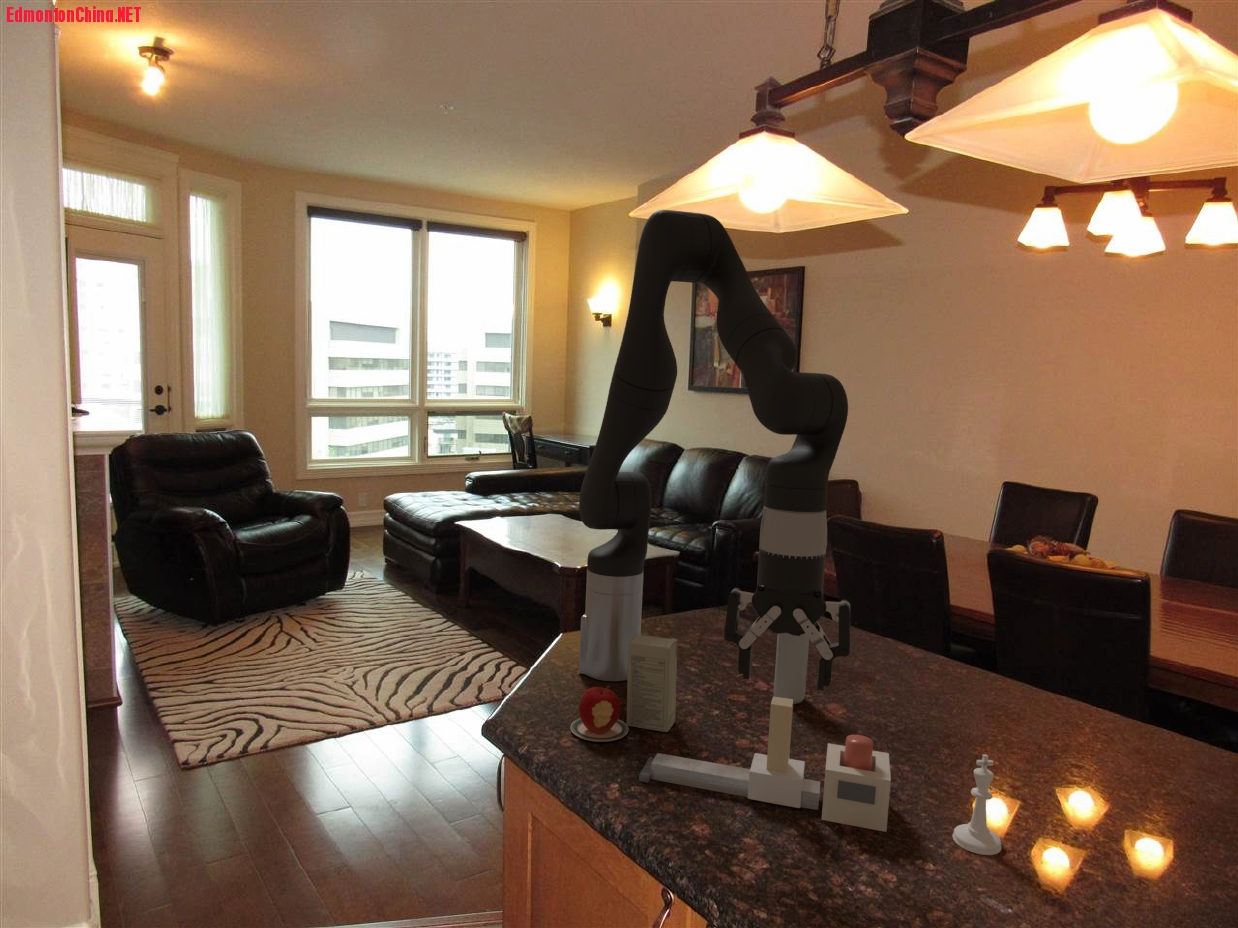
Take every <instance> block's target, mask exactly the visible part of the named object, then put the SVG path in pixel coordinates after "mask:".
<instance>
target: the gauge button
mask: <svg viewBox="0 0 1238 928" xmlns="http://www.w3.org/2000/svg"><path fill="white" fill-rule="evenodd" d="M844 746H845V758H844V767H850V768H856V769H861V770H867V771H871V763H872V751H874V749H873V748H874V741H873V739H871V738H870V737H868V736H865V735H861V734H850V735H847V736H846V737H845V745H844Z"/></svg>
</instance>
